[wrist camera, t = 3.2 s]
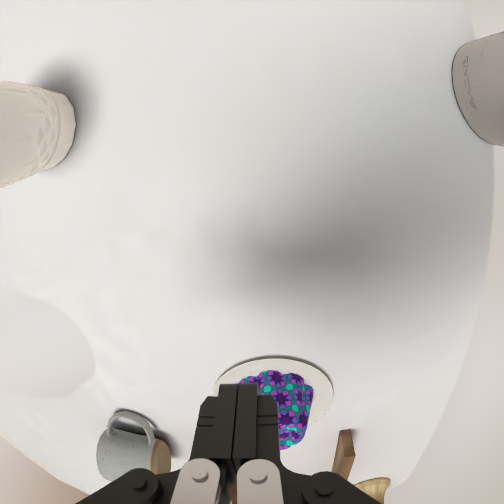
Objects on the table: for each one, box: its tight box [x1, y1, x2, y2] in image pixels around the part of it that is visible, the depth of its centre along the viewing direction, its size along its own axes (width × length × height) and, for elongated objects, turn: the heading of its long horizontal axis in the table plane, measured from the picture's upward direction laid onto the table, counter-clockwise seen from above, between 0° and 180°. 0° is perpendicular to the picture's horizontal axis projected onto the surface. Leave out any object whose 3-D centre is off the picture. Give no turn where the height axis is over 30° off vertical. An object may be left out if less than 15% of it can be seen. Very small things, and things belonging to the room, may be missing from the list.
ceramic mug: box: [96, 411, 171, 481], centre depth 28 cm, size 11×8×8 cm
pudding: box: [213, 358, 333, 450], centre depth 25 cm, size 12×12×5 cm
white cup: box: [0, 80, 76, 189], centre depth 14 cm, size 8×8×10 cm
